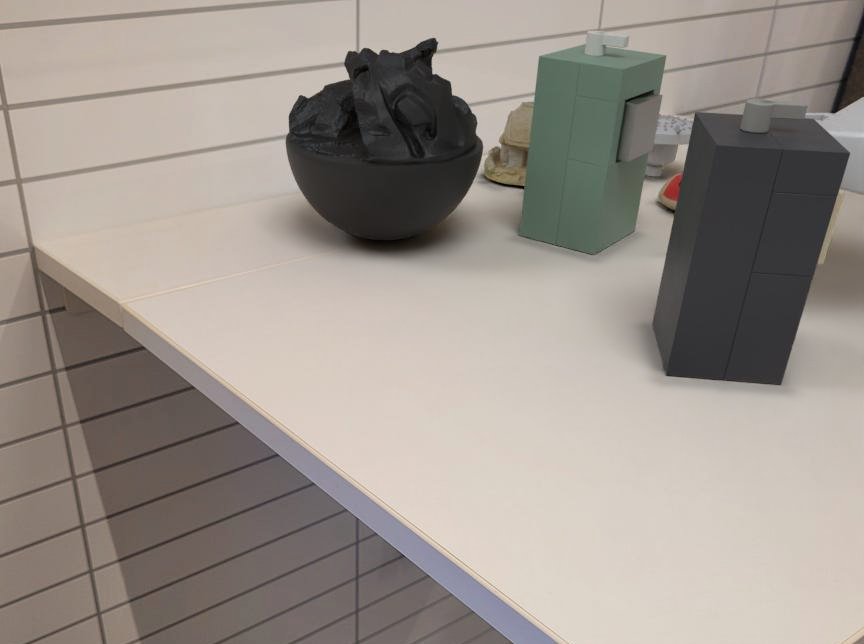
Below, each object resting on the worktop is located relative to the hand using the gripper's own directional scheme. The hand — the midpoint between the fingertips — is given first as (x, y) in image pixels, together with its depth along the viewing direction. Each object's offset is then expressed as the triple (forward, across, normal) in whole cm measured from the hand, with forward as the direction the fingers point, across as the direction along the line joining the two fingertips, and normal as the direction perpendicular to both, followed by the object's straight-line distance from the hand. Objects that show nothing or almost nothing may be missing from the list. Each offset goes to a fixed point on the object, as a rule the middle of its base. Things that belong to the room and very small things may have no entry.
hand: (776, 122), depth 86 cm
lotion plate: (-9, +17, +5) cm, 20 cm away
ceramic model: (+31, -15, +15) cm, 37 cm away
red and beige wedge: (+11, -17, +15) cm, 25 cm away
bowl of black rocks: (+34, +14, +15) cm, 40 cm away
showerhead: (+21, -27, +15) cm, 38 cm away
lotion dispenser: (-5, +19, +15) cm, 24 cm away
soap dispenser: (+18, 0, +15) cm, 23 cm away
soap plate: (+13, 0, +5) cm, 14 cm away
